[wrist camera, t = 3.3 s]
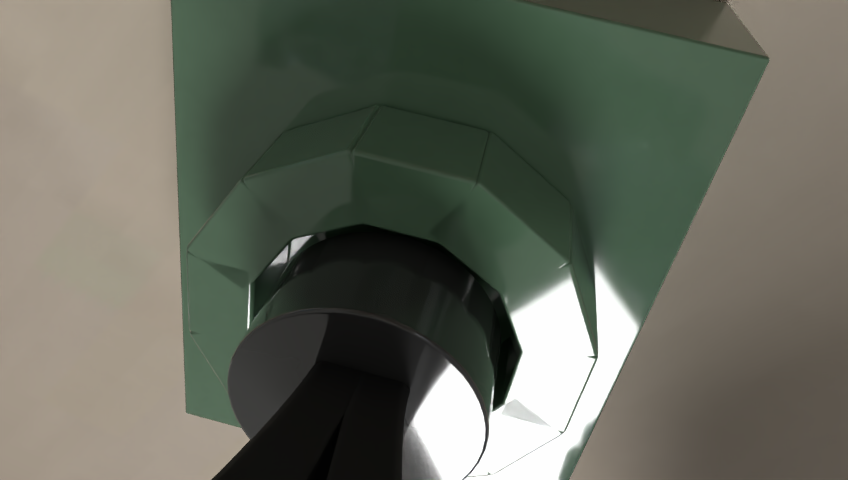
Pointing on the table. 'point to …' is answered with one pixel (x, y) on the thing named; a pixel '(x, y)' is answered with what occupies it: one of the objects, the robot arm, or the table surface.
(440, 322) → the black push button
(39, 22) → the table surface
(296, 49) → the green button base
